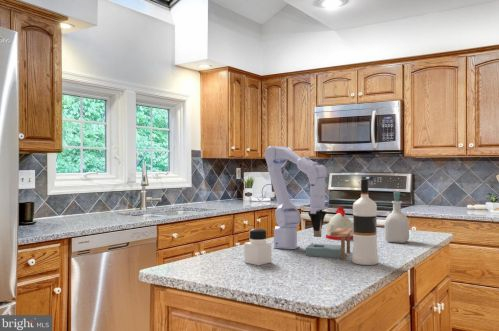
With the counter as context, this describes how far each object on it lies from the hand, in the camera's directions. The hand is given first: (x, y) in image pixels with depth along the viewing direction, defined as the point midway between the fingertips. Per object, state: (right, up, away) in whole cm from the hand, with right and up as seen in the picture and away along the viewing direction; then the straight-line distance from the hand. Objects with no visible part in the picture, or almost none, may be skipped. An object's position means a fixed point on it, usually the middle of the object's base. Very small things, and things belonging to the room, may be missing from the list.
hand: (317, 230), depth 170 cm
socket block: (+3, -9, 0) cm, 10 cm away
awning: (+9, -9, -3) cm, 13 cm away
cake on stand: (+17, -10, +38) cm, 43 cm away
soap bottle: (+40, -9, +26) cm, 49 cm away
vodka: (+14, -10, -16) cm, 23 cm away
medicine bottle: (-24, -10, -14) cm, 29 cm away
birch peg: (0, -3, 0) cm, 2 cm away
